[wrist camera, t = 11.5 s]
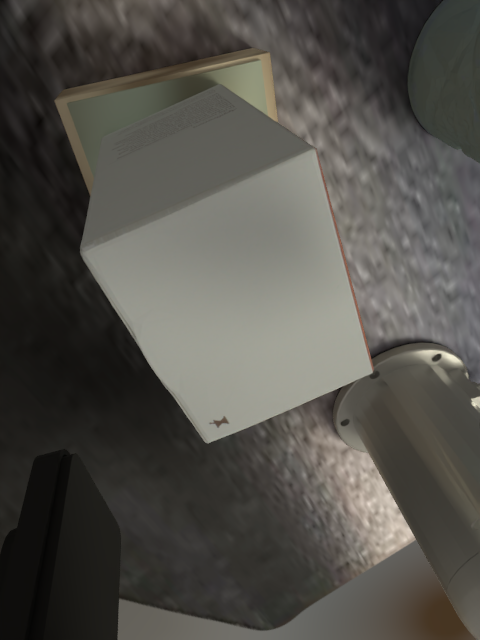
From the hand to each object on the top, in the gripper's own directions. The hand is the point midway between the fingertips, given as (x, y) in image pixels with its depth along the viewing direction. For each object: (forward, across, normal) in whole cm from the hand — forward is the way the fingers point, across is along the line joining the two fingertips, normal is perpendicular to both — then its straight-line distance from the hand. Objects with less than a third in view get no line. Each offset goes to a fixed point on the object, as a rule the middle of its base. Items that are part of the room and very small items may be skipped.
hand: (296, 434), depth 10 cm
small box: (+17, 0, -1) cm, 17 cm away
